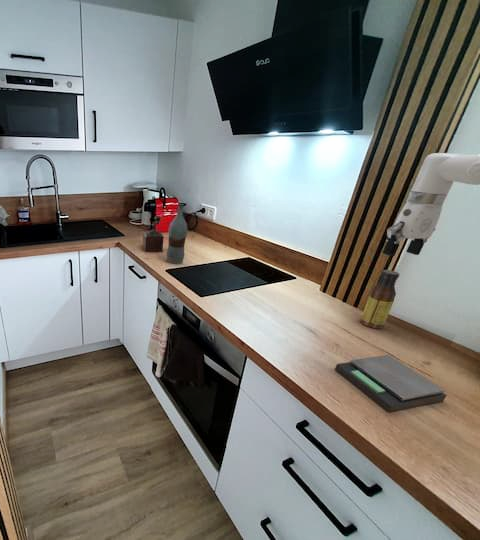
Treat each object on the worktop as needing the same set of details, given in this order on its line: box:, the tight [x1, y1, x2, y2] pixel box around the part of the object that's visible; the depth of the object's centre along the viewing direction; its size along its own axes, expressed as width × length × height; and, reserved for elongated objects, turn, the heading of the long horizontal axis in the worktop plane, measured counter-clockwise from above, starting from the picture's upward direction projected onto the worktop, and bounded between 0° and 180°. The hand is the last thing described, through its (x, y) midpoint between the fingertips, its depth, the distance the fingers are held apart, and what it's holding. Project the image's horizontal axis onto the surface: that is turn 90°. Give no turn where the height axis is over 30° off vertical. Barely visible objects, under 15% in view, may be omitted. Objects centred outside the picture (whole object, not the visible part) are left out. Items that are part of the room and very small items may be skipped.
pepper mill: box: [142, 215, 165, 253], centre depth 166 cm, size 16×11×18 cm
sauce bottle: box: [360, 269, 400, 330], centre depth 96 cm, size 6×6×20 cm
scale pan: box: [349, 354, 446, 401], centre depth 73 cm, size 13×13×1 cm
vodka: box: [165, 203, 188, 265], centre depth 144 cm, size 9×9×30 cm
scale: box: [334, 361, 448, 413], centre depth 73 cm, size 17×14×3 cm
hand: (400, 254), depth 89 cm, fingers open, 9 cm apart
